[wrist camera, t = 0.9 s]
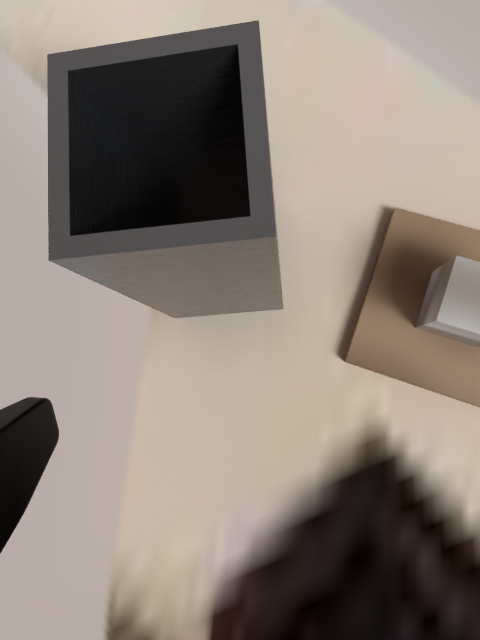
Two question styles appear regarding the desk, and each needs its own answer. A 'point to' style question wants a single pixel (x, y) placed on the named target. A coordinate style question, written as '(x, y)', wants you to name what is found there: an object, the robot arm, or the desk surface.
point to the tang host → (423, 308)
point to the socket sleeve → (166, 171)
